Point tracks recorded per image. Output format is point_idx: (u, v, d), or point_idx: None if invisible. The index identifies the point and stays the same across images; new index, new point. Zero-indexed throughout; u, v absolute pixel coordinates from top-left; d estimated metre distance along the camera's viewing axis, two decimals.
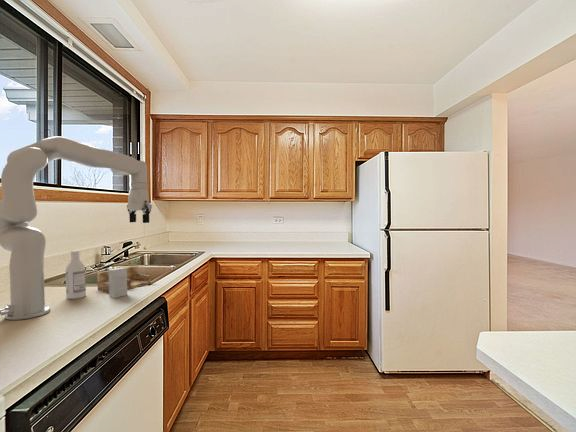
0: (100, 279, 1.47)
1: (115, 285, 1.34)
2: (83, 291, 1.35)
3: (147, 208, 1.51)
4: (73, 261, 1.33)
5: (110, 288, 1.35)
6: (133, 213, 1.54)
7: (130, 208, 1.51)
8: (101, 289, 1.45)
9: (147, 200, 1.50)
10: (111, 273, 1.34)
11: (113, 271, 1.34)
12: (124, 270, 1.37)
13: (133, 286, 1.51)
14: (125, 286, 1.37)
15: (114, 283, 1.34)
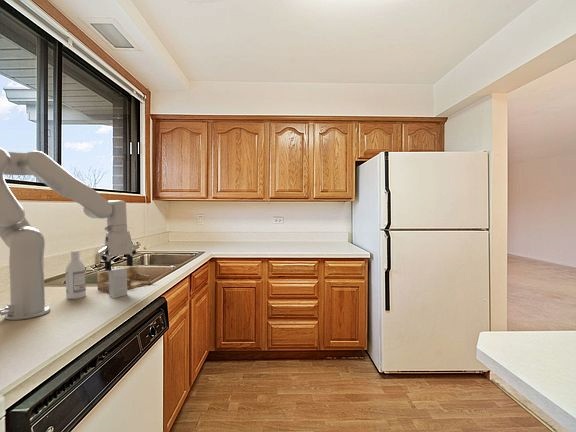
0: (100, 279, 1.47)
1: (115, 285, 1.34)
2: (83, 291, 1.35)
3: None
4: (73, 261, 1.33)
5: (110, 288, 1.35)
6: None
7: (116, 253, 1.33)
8: (101, 289, 1.45)
9: None
10: (111, 273, 1.34)
11: (113, 271, 1.34)
12: (124, 270, 1.37)
13: (133, 286, 1.51)
14: (125, 286, 1.37)
15: (114, 283, 1.34)
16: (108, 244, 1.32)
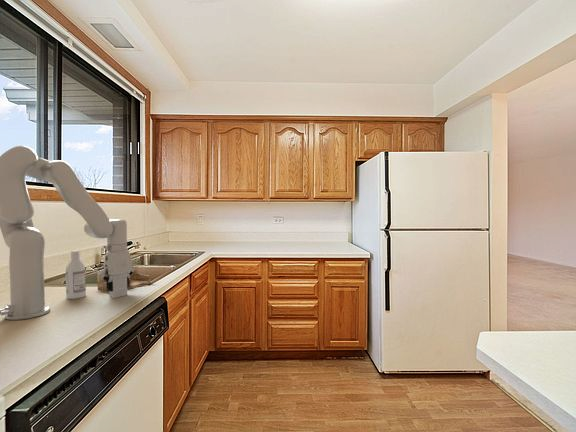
0: (100, 279, 1.47)
1: (115, 285, 1.34)
2: (83, 291, 1.35)
3: None
4: (73, 261, 1.33)
5: None
6: None
7: (116, 273, 1.33)
8: (101, 289, 1.45)
9: None
10: None
11: None
12: None
13: (133, 286, 1.51)
14: (125, 286, 1.37)
15: (114, 283, 1.34)
16: (107, 263, 1.32)
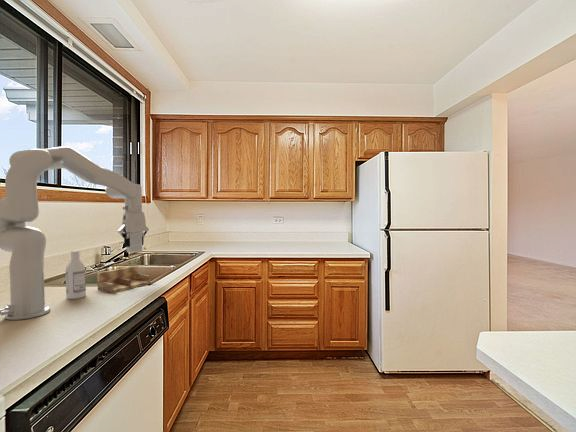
0: (100, 279, 1.47)
1: (131, 241, 1.52)
2: (83, 291, 1.35)
3: None
4: (73, 261, 1.33)
5: None
6: None
7: (132, 230, 1.51)
8: (101, 289, 1.45)
9: None
10: None
11: None
12: None
13: (133, 286, 1.51)
14: (140, 243, 1.55)
15: (131, 240, 1.51)
16: (125, 222, 1.49)
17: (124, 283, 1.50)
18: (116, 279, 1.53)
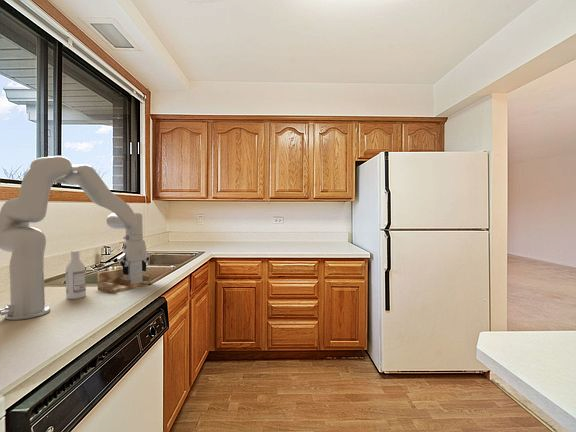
0: (100, 279, 1.47)
1: (132, 273, 1.52)
2: (83, 291, 1.35)
3: None
4: (73, 261, 1.33)
5: (128, 276, 1.53)
6: None
7: (133, 260, 1.52)
8: (101, 289, 1.45)
9: None
10: (129, 262, 1.52)
11: None
12: None
13: (133, 286, 1.51)
14: (140, 274, 1.56)
15: (131, 271, 1.52)
16: (126, 251, 1.50)
17: (124, 283, 1.50)
18: (116, 279, 1.53)
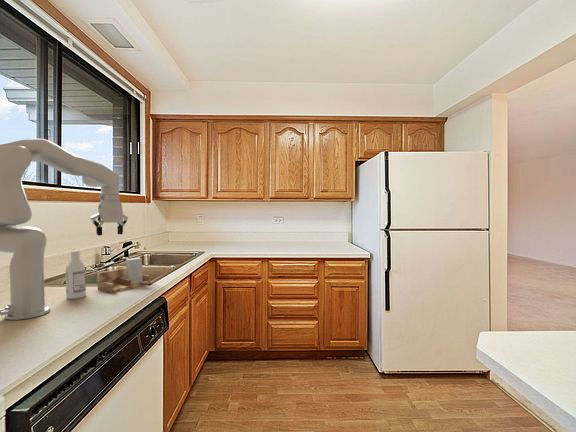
0: (100, 279, 1.47)
1: (132, 273, 1.52)
2: (83, 291, 1.35)
3: None
4: (73, 261, 1.33)
5: (128, 276, 1.53)
6: None
7: (108, 220, 1.46)
8: (101, 289, 1.45)
9: None
10: (129, 262, 1.52)
11: (130, 261, 1.52)
12: (140, 260, 1.55)
13: (133, 286, 1.51)
14: (140, 274, 1.56)
15: (131, 271, 1.52)
16: (100, 211, 1.45)
17: (124, 283, 1.50)
18: (116, 279, 1.53)
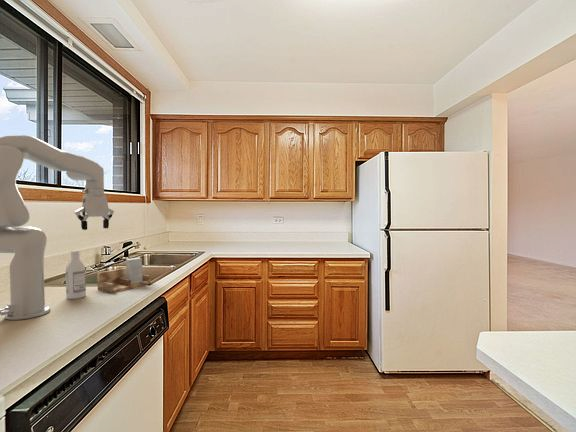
0: (100, 279, 1.47)
1: (132, 273, 1.52)
2: (83, 291, 1.35)
3: None
4: (73, 261, 1.33)
5: (128, 276, 1.53)
6: None
7: (93, 214, 1.44)
8: (101, 289, 1.45)
9: None
10: (129, 262, 1.52)
11: (130, 261, 1.52)
12: (140, 260, 1.55)
13: (133, 286, 1.51)
14: (140, 274, 1.56)
15: (131, 271, 1.52)
16: (85, 205, 1.43)
17: (124, 283, 1.50)
18: (116, 279, 1.53)
